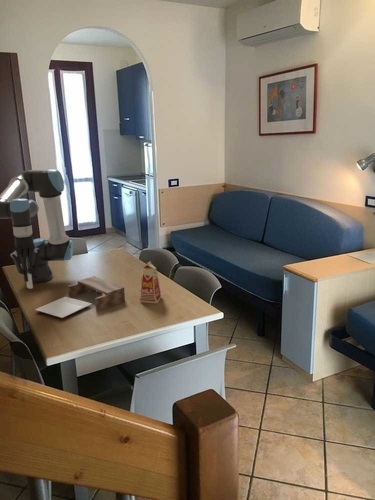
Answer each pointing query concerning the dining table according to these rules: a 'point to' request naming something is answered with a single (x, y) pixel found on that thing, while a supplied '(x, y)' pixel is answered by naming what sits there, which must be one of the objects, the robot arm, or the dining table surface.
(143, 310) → the dining table surface
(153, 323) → the dining table surface
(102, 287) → the overhang shelf
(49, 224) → the robot arm
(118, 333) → the dining table surface
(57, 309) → the plate
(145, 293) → the milk carton
